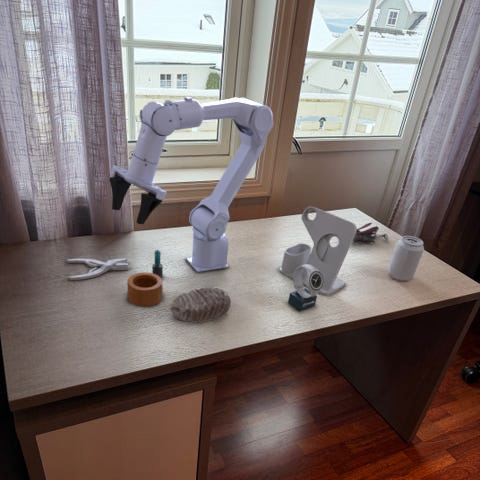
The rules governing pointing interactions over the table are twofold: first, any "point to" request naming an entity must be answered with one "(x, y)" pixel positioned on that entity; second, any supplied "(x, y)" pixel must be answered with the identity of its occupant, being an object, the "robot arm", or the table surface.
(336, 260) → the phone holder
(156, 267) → the brush
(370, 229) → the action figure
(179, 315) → the seashell
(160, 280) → the orange flowerpot
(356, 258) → the table surface
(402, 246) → the can
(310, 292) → the watch
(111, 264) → the pliers
